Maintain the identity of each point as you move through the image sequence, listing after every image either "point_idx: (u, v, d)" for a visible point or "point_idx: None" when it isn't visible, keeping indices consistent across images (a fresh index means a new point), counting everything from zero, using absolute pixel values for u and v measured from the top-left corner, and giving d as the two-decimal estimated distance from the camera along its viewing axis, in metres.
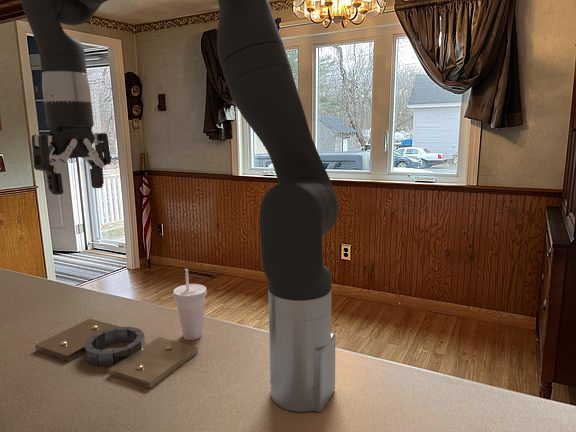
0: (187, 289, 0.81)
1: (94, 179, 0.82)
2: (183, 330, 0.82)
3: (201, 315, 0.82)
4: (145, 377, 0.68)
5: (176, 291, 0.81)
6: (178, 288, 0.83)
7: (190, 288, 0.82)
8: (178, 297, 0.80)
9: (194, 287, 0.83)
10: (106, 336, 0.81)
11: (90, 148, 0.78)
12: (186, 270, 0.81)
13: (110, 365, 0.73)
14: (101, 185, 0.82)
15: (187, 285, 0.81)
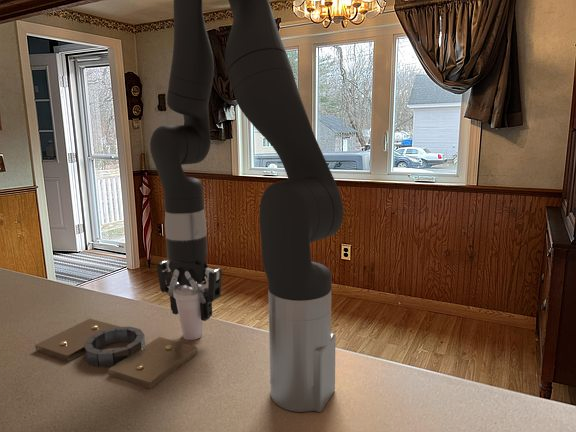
0: (187, 289, 0.81)
1: None
2: (183, 330, 0.82)
3: None
4: (145, 377, 0.68)
5: (176, 291, 0.81)
6: (178, 288, 0.83)
7: (190, 288, 0.82)
8: (178, 297, 0.80)
9: None
10: (106, 336, 0.81)
11: None
12: None
13: (110, 365, 0.73)
14: None
15: None
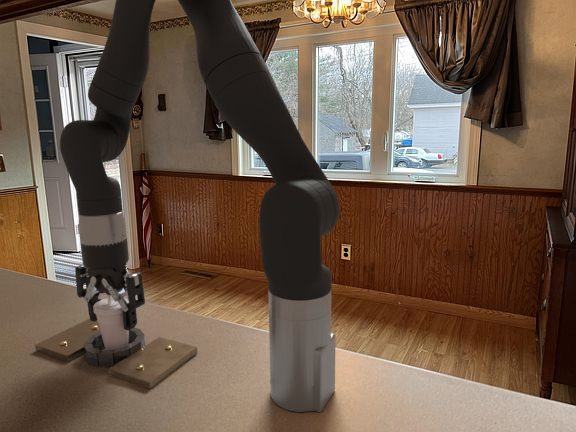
0: (108, 303, 0.75)
1: None
2: (105, 347, 0.76)
3: (124, 331, 0.76)
4: (145, 377, 0.68)
5: (97, 305, 0.75)
6: (100, 301, 0.77)
7: (113, 301, 0.76)
8: (97, 312, 0.74)
9: None
10: None
11: None
12: None
13: (110, 365, 0.73)
14: None
15: (108, 298, 0.75)
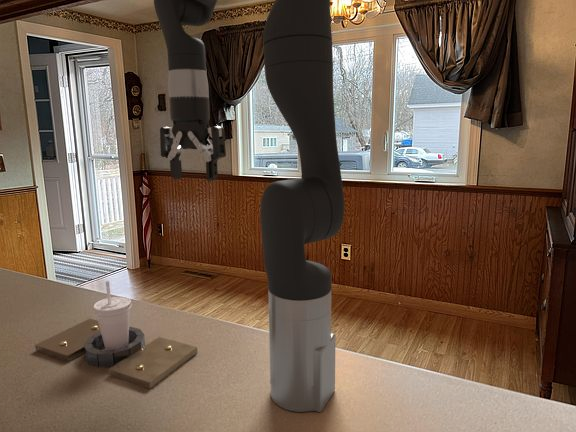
0: (109, 303, 0.75)
1: (177, 170, 0.86)
2: (105, 347, 0.76)
3: (124, 331, 0.76)
4: (145, 377, 0.68)
5: (97, 305, 0.75)
6: (100, 301, 0.77)
7: (113, 301, 0.76)
8: (97, 312, 0.74)
9: (118, 300, 0.77)
10: None
11: None
12: (107, 282, 0.75)
13: (110, 365, 0.73)
14: None
15: (108, 298, 0.75)
